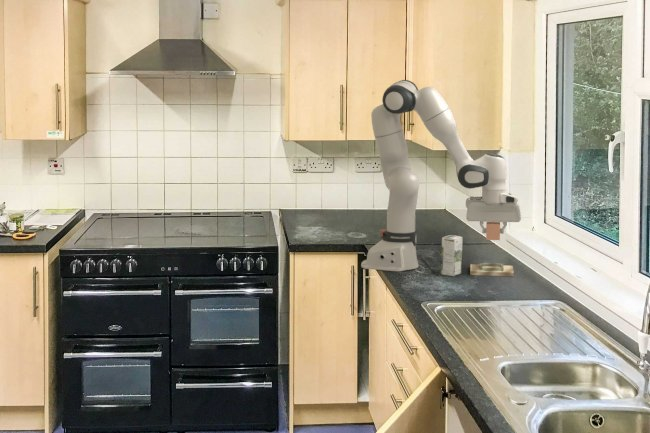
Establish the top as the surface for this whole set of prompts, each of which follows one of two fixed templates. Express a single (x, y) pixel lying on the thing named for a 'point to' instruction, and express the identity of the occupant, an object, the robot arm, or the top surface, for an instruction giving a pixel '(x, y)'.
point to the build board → (491, 269)
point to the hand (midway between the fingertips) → (493, 233)
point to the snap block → (492, 230)
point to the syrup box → (451, 255)
